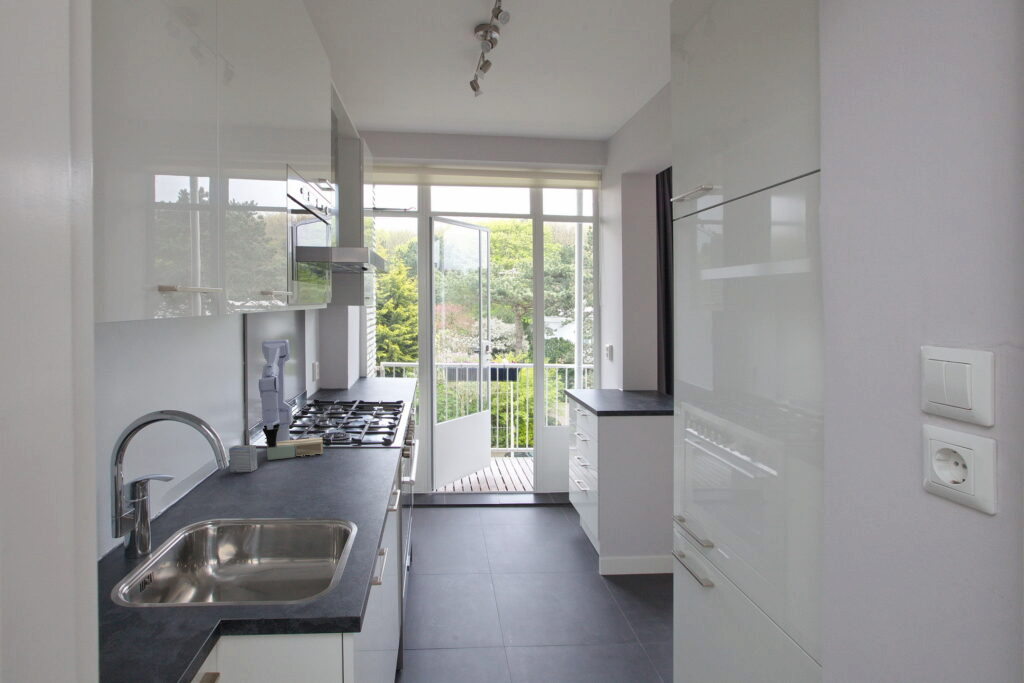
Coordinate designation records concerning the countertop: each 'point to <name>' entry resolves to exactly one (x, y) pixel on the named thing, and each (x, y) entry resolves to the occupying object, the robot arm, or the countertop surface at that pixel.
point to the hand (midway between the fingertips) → (272, 445)
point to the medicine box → (243, 458)
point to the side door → (281, 452)
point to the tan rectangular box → (304, 446)
